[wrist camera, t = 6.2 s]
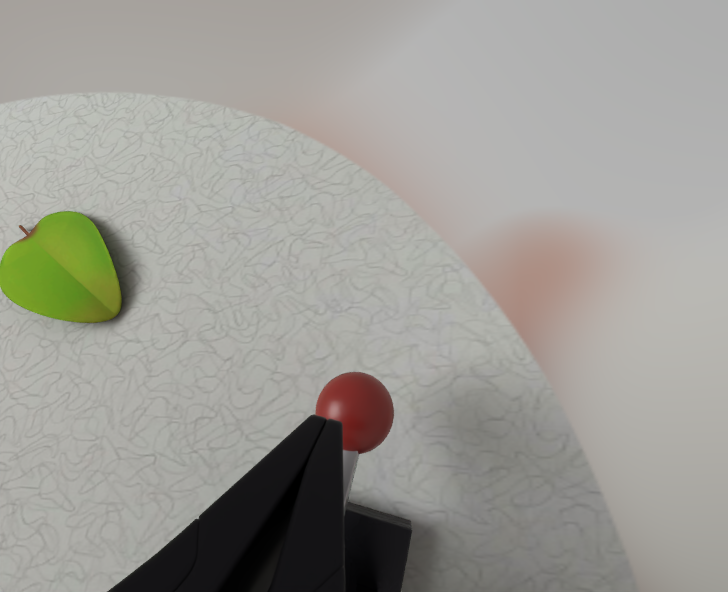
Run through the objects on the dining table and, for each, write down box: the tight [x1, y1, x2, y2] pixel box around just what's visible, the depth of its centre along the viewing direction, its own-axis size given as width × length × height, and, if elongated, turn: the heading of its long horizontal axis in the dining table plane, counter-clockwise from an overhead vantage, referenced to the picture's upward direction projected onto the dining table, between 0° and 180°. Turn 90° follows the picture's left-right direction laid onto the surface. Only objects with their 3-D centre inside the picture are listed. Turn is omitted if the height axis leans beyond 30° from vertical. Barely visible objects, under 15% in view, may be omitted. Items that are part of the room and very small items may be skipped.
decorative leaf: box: [0, 211, 122, 323], centre depth 23 cm, size 8×9×1 cm
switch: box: [316, 372, 394, 515], centre depth 12 cm, size 13×3×3 cm, turn 166°
